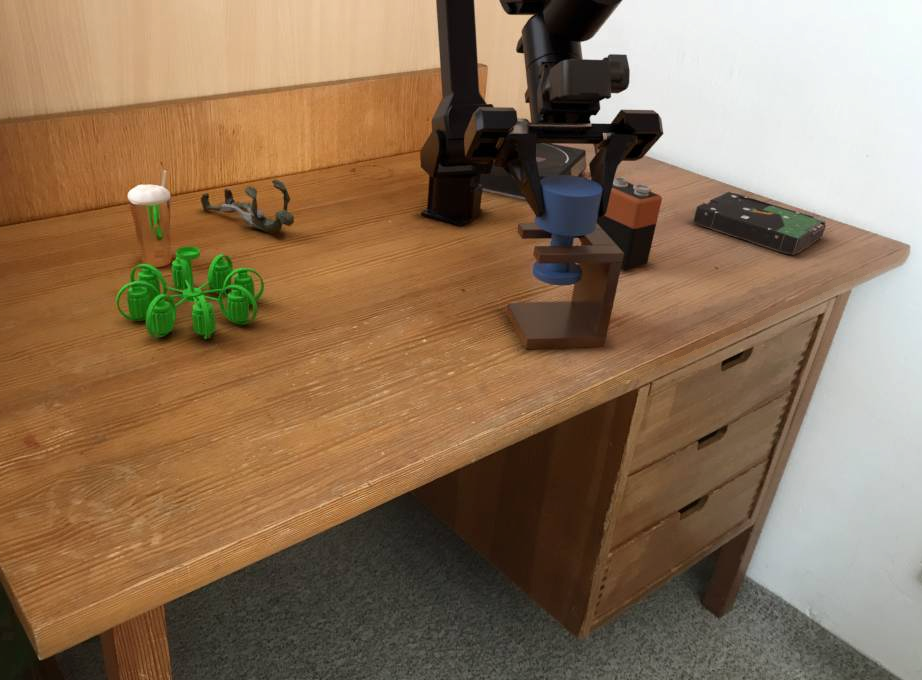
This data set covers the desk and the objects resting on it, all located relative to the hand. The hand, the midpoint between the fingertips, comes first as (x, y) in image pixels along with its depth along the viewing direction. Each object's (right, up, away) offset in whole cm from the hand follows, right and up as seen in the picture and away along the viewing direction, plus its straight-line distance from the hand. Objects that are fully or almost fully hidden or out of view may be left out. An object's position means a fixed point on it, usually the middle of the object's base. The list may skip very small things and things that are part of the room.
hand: (571, 215), depth 79 cm
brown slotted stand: (-1, -10, +8) cm, 13 cm away
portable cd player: (+1, +16, +49) cm, 52 cm away
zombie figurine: (-37, +4, +28) cm, 46 cm away
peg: (-1, -5, +5) cm, 7 cm away
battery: (+11, -1, +25) cm, 27 cm away
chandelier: (-38, -9, +7) cm, 40 cm away
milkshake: (-45, -2, +17) cm, 48 cm away
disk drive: (+33, +5, +36) cm, 49 cm away
